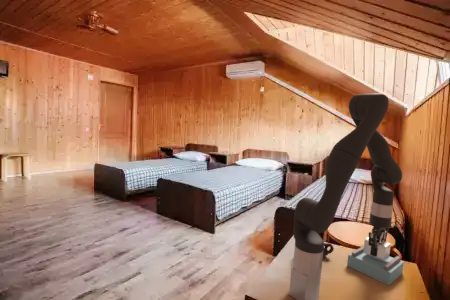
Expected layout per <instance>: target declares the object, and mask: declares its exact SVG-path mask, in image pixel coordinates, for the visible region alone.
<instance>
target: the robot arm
mask: <svg viewBox="0 0 450 300" xmlns="http://www.w3.org/2000/svg"><path fill="white" fill-rule="evenodd" d="M389 103H390V102H389V98H388V96H387V95H386V94H384V93H375V92H374V93H358V94H355V95H353V96H352V97H351V98H350V101H349V103H348V111H349V115H350V117H351V119H352V121H353V123H354V124H355V126H356V127H355V128H354V129H353V130H352V131H351V132H348V134H346V135H345V136H344V137H342V138H341V139H339V140H338V141H337V142H336V143H335V145H333V147H332V148H331V150H330V153H329V154H328V157H327V158H326V160H325V167H324V170H325V173H324V174H325V187H324V190H323V193H322V196H321V197H320V199H319V200H316V199H313V198H310V197H303V198H301V199H300V200H299V201H298V202H297V203H296V206H295V209H294V213H293V215H294V216H293V230H292V231H293V232H292V233H293V239H294V250H293V251H294V253H293V259H292V268H291V271H290V280H289V281H290V282H289V293H288V295H289V296H290V297H292V298H293V299H295V300H320V299H319V298H320V292H321V289H320V288H321V279H322V269H323V261H324V259H323V251H324V248H325V246H324V243H325V242H324V239H323V238H322V237H321V235H320V234H321V233H323V232H326V231H327V230H329V228H330V226H331V224H332V223H333V221H334V218H335V216H336V213H337V210H338V208H339V205H340V202H341V200H342V197H343V195H344V192H345V191H346V188H347V186H348V185H349V182H350V180H351V178H352V176H353V174H354V172H355V171H356V168H357V167H358V165H359V162H360V160H361V159H362V156H363V155H364V152H365V151H366V148H367V151H368V153H369V158H370V161H371V163H372V164H373V166H372V168H371V170H370V178H371V182H372V189H373V190H372V191H373V194H372V202H371V206H370V213H369V215H370V216H369V224H370V225H372V226H373V227H372V229H371V231H369V232H368V237H369V246H371V251H370V255H372V256H377V248H378V244H379V243H380V242H381V240H382V241H385V242H387V238H388V235H389V234H388V233H389V229H390V228H391V226H392V219H393V212H394V211H393V209H394V208H393V204H394V195H395V192H394V191H393V190H391V189H390V188H388V187H386V186H385V184H389V185H397V184H399V183H400V182H401V181H402V178H403V172H402V169H401V168H400V166H399V164H398V162H396V160H395V159H394V157H393V155H392V152H391V148H390V146H389V143H388V141H387V139H386V138H385V137H384V136H383V135H382V134H381V133H380V132H379V131H378V128H379V126H380V125H381V123H382V121H383V120H384V118H385V117H386V115H387V112H388V109H389ZM384 183H385V184H384ZM322 239H323V240H322ZM376 239H378V240H376ZM373 242H374V244H373Z"/></svg>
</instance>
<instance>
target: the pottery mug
mask: <svg viewBox="0 0 450 300" xmlns="http://www.w3.org/2000/svg"><path fill="white" fill-rule="evenodd" d="M322 240H323V241H324V239H323V238H322ZM328 248H329V249H328ZM334 249H335V247H334V246H333V244H332V243H330V242H329V243H326V242H324V251H323V260H324V259H326V258H327V256H328V255H330V254H331V253H333V252H334Z"/></svg>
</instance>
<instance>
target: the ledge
mask: <svg viewBox="0 0 450 300" xmlns="http://www.w3.org/2000/svg"><path fill="white" fill-rule="evenodd" d="M363 250H364V245H362V246H361V247H359V248H357V249H355V250H353V251H352V252H350V253H349V254H348V255H347V262H346V263H347V264H346V266H347V267H349V268H351V269H353V270H356V272H360V273H362V274H364V275H366V276H369V277H370V278H372V279H375V280H377V281H379V282H381V283H383V284H386V285H388V286H390V285H392V284H393V282H395V281H396V280H397V279H398V278H399V277H400V276H402V275H403V270H404V263H405V261H403V260H401V256H399V255H396V256H395V257H392V256H390V255H389V258H388V259H387V260H385V261H382V260H380V259H377V258H375V257H373V256H370V255H368V254H365V253H363Z"/></svg>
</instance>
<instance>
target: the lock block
mask: <svg viewBox="0 0 450 300" xmlns="http://www.w3.org/2000/svg"><path fill="white" fill-rule="evenodd" d="M376 240H378V239H376ZM373 244H374V242H373ZM391 245H392V243H390V242H387V241H386V242H385V241H382V240H381V242H380V243H379V244H378V248H377V256H373V257H375V258H377V259H380V260H382V261H385V260H387V259H388V258H389V256H390V253H391ZM363 246H364V250H363V253H365V254H368V255H370V251H371V246H369V236H367V237H366V238H365V239H364V245H363ZM370 256H372V255H370Z"/></svg>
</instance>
